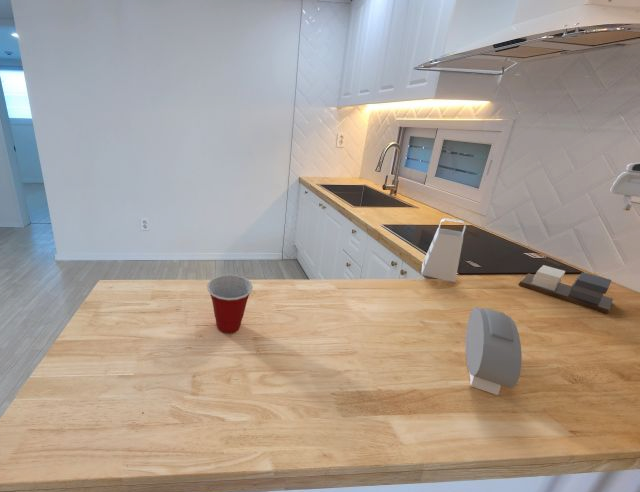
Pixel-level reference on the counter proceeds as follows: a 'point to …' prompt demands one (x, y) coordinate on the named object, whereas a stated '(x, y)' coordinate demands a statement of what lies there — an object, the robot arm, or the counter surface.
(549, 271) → the white book
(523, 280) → the shelf plank
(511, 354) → the alarm clock
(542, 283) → the white stack
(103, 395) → the counter surface
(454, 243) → the grater
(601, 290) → the grey stack
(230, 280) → the plastic cup
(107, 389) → the counter surface
